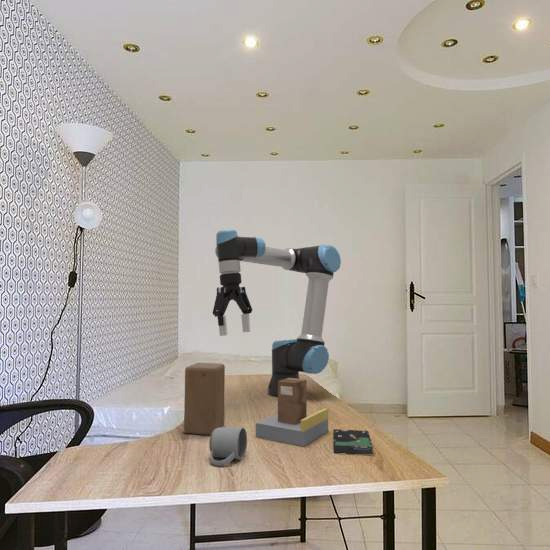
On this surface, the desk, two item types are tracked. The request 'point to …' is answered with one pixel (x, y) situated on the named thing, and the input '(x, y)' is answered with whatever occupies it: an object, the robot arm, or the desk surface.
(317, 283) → the robot arm
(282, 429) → the dock
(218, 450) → the ceramic mug
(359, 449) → the disk drive
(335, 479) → the desk surface
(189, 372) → the wooden block
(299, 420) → the cardboard box
